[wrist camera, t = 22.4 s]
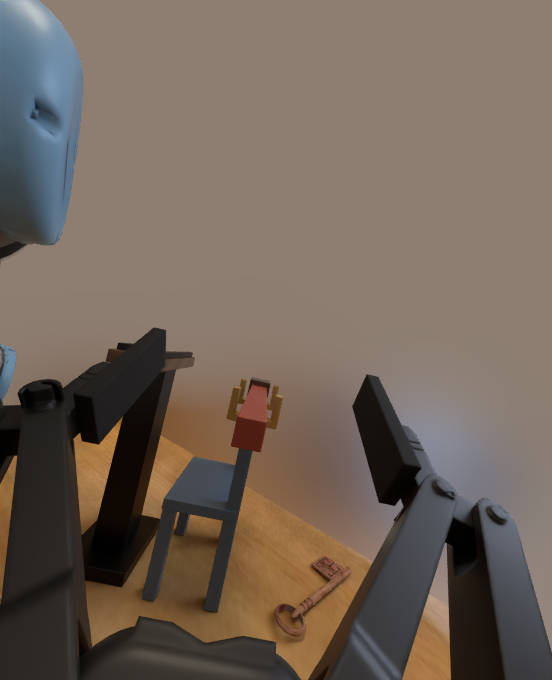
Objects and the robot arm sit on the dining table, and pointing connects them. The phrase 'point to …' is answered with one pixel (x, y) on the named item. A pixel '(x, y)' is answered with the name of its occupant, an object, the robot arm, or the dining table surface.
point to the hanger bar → (252, 417)
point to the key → (316, 596)
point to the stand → (130, 481)
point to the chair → (207, 504)
